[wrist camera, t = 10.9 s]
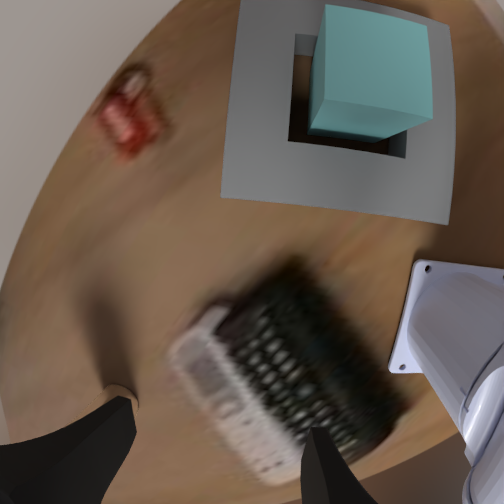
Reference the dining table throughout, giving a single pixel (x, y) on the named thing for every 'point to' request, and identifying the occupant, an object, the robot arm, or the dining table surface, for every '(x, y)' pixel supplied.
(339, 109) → the peg
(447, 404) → the robot arm
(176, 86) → the dining table surface
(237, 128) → the socket block
